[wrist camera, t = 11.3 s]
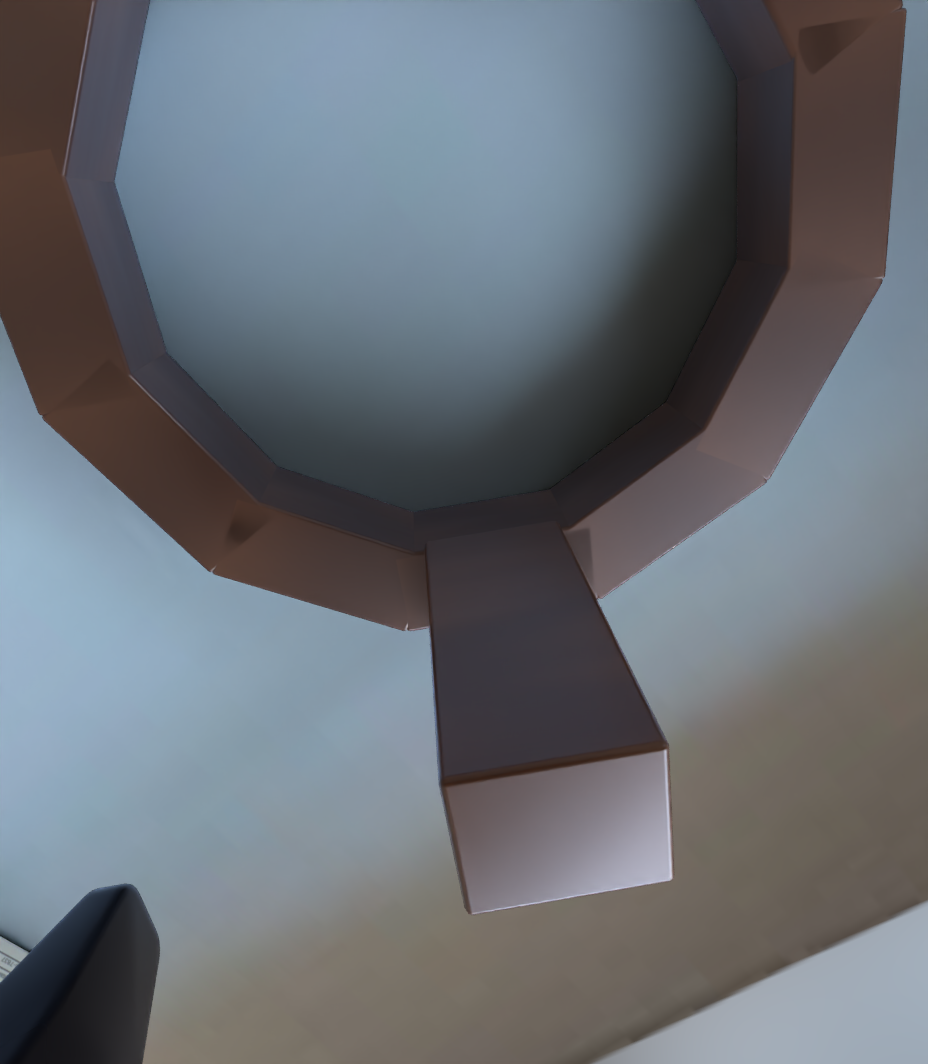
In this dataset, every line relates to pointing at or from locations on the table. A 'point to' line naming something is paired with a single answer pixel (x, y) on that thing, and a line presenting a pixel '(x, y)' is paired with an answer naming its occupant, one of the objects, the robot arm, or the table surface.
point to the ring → (490, 525)
